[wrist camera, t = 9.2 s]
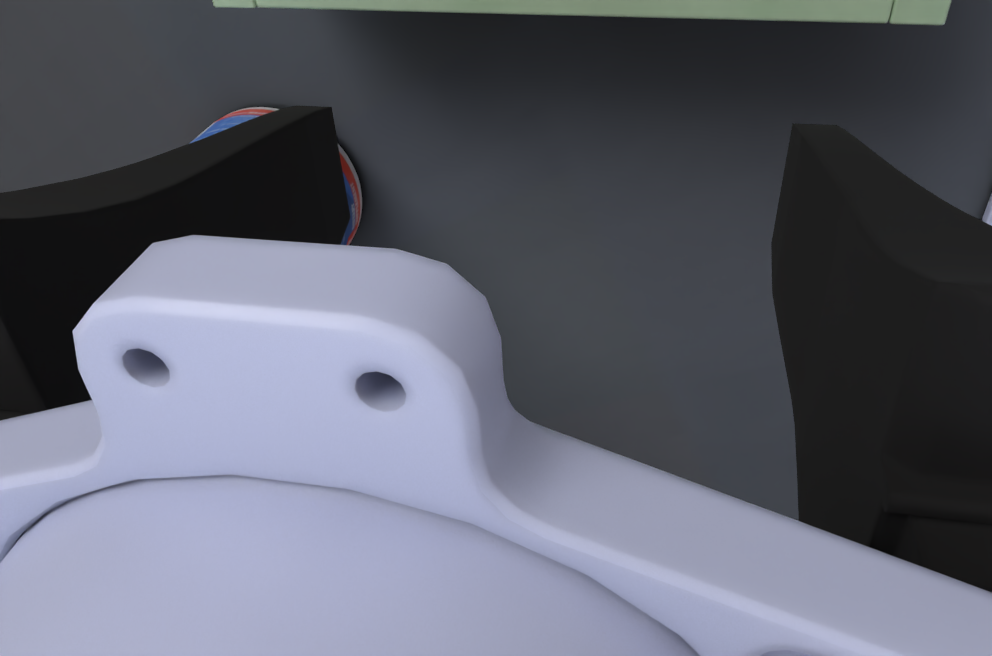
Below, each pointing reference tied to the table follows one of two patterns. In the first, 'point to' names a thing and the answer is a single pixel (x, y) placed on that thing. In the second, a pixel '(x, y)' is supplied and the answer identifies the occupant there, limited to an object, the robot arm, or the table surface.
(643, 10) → the basin
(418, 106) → the table surface
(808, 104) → the table surface
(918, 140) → the table surface
